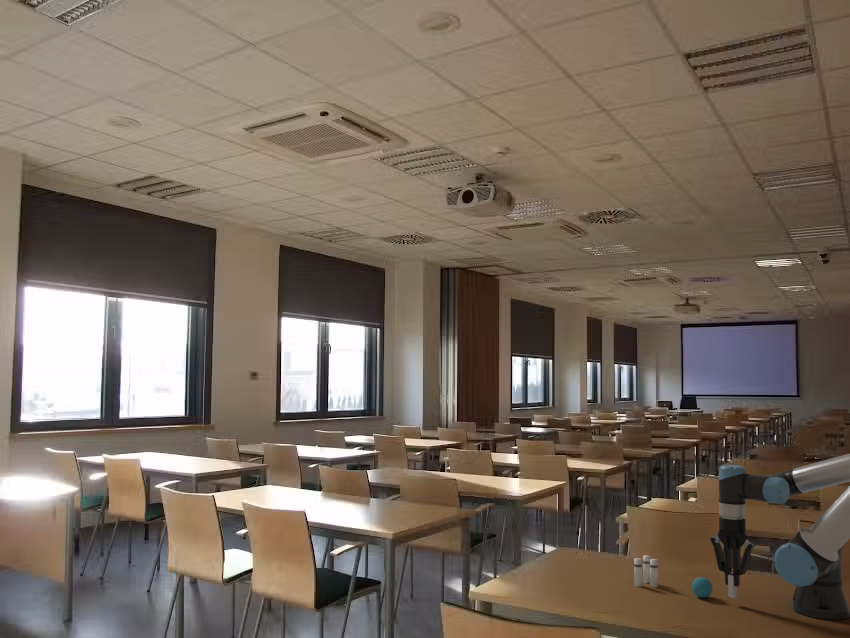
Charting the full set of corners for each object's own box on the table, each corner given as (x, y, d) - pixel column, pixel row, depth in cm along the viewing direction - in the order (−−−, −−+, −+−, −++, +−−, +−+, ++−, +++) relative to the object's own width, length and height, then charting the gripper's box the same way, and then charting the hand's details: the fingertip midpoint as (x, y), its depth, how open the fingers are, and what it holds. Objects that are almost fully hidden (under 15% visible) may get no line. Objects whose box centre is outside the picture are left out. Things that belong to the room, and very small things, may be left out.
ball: (716, 598, 233) (716, 578, 234) (702, 601, 230) (702, 581, 231) (701, 593, 238) (701, 574, 239) (687, 595, 236) (687, 576, 236)
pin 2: (652, 582, 250) (652, 556, 250) (646, 583, 249) (646, 557, 249) (647, 580, 252) (647, 554, 253) (641, 581, 251) (641, 555, 252)
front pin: (659, 587, 245) (659, 560, 246) (653, 588, 244) (653, 561, 244) (654, 585, 247) (654, 558, 248) (648, 585, 246) (648, 559, 247)
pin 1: (643, 586, 246) (643, 559, 246) (637, 587, 244) (637, 560, 245) (638, 584, 248) (638, 557, 248) (632, 585, 247) (632, 558, 247)
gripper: (758, 518, 228) (759, 599, 226) (716, 512, 237) (716, 589, 235) (749, 522, 222) (749, 604, 221) (705, 515, 231) (705, 594, 230)
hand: (732, 596), depth 228 cm, fingers closed
